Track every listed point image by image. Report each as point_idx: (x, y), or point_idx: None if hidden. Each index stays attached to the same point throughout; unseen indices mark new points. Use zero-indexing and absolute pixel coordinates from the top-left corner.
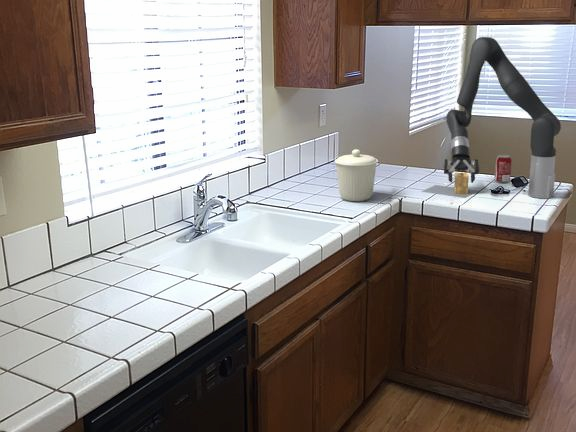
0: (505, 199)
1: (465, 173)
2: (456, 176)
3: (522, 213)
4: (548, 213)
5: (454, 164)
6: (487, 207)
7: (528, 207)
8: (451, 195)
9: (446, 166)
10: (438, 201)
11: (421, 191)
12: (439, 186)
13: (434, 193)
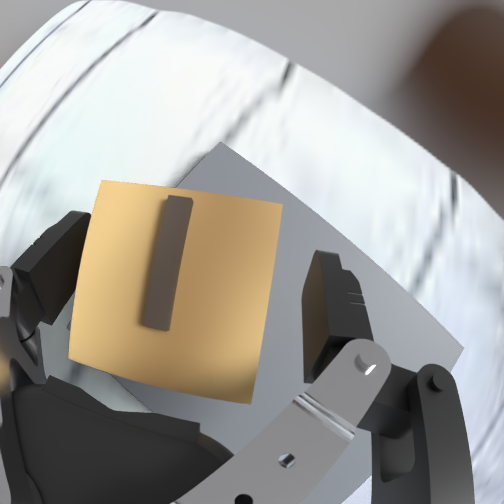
0: (11, 191)
1: (96, 327)
2: (277, 206)
3: (83, 23)
4: (26, 41)
5: (285, 493)
6: (152, 59)
7: (20, 83)
8: (302, 217)
9: (441, 447)
10: (384, 181)
11: (461, 347)
12: (317, 484)
13: (406, 291)
